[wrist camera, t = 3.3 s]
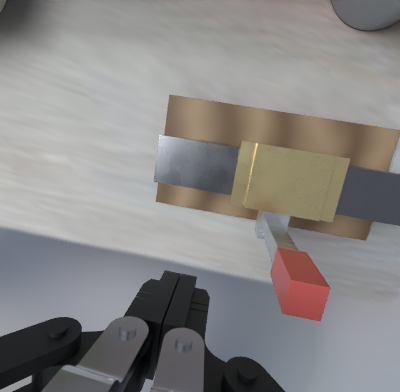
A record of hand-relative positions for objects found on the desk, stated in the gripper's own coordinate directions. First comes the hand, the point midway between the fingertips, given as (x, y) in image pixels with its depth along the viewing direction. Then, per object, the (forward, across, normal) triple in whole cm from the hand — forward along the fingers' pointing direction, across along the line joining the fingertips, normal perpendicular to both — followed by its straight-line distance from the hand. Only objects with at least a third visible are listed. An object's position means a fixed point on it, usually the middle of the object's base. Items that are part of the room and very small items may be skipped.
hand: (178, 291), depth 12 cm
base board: (+23, -6, -5) cm, 24 cm away
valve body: (+22, -6, -5) cm, 23 cm away
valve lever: (+15, -6, 0) cm, 16 cm away
